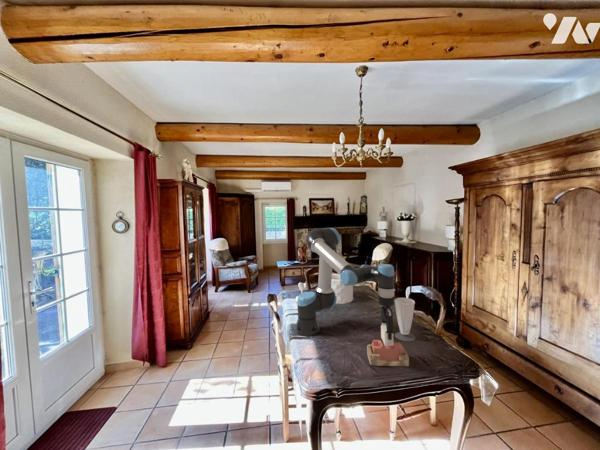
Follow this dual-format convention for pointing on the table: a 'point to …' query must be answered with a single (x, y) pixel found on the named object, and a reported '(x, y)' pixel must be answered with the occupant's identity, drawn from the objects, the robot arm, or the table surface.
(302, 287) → the potted plant
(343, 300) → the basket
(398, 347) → the red notched block
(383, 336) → the white block
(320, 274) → the robot arm
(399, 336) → the cup
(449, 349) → the table surface
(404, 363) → the cradle
